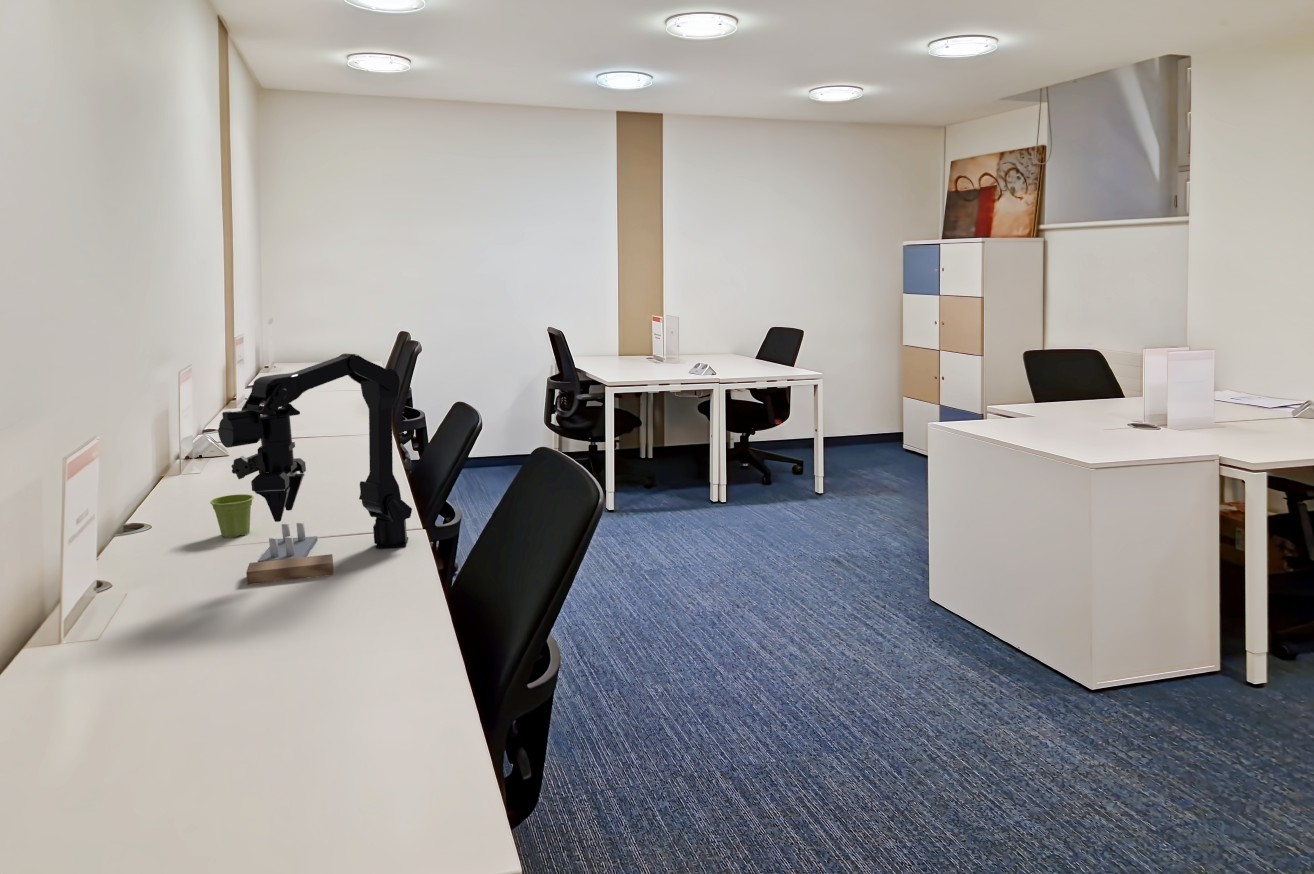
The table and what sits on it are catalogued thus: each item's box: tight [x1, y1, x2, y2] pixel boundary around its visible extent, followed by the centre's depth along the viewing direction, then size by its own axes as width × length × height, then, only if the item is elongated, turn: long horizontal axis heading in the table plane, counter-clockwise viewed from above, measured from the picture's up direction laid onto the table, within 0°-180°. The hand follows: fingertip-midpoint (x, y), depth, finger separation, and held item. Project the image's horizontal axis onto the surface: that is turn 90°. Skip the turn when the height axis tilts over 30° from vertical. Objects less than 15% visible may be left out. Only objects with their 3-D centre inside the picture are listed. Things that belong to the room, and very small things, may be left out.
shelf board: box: [246, 553, 334, 586], centre depth 192 cm, size 16×6×3 cm, turn 108°
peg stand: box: [257, 521, 318, 562], centre depth 208 cm, size 17×9×5 cm, turn 9°
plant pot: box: [209, 493, 255, 538], centre depth 224 cm, size 9×9×9 cm
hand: (283, 515), depth 191 cm, fingers open, 9 cm apart
